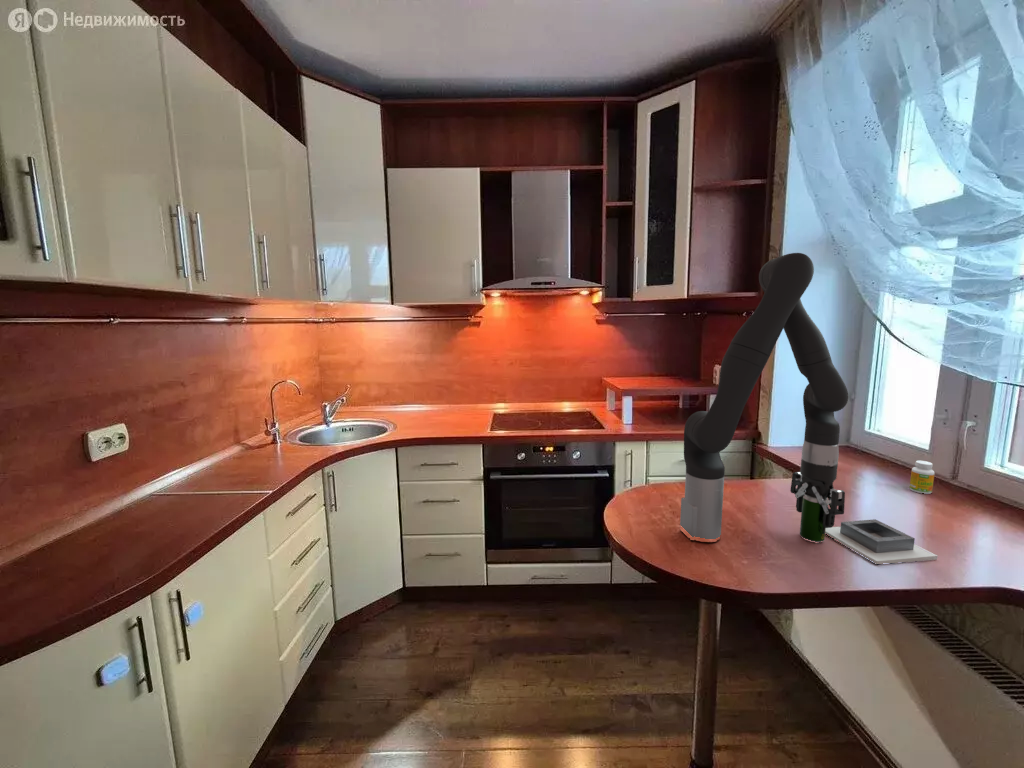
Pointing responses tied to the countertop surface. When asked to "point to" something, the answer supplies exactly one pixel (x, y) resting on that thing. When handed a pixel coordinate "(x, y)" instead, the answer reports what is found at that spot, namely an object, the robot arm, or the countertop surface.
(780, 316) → the robot arm
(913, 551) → the holder plate
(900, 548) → the can collar
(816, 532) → the beer can
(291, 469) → the countertop surface
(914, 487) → the supplement bottle
